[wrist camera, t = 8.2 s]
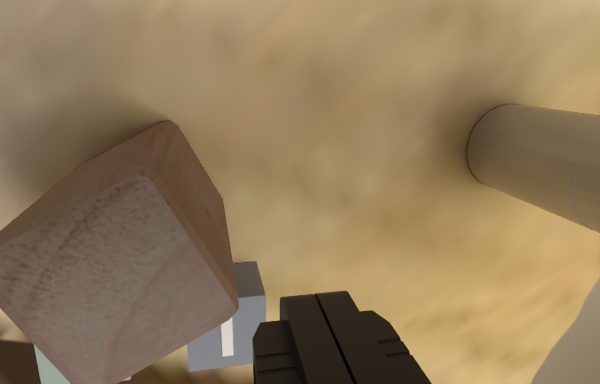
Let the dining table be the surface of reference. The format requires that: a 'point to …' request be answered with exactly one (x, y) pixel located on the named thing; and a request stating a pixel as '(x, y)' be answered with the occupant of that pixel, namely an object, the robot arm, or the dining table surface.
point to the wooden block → (121, 260)
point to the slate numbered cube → (233, 326)
